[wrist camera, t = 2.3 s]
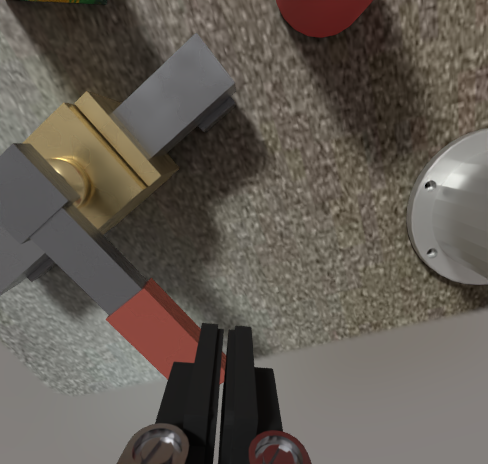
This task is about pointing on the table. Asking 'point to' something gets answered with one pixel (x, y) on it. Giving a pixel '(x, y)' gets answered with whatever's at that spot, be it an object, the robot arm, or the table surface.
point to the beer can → (321, 15)
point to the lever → (92, 259)
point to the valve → (122, 146)
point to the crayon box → (75, 1)
